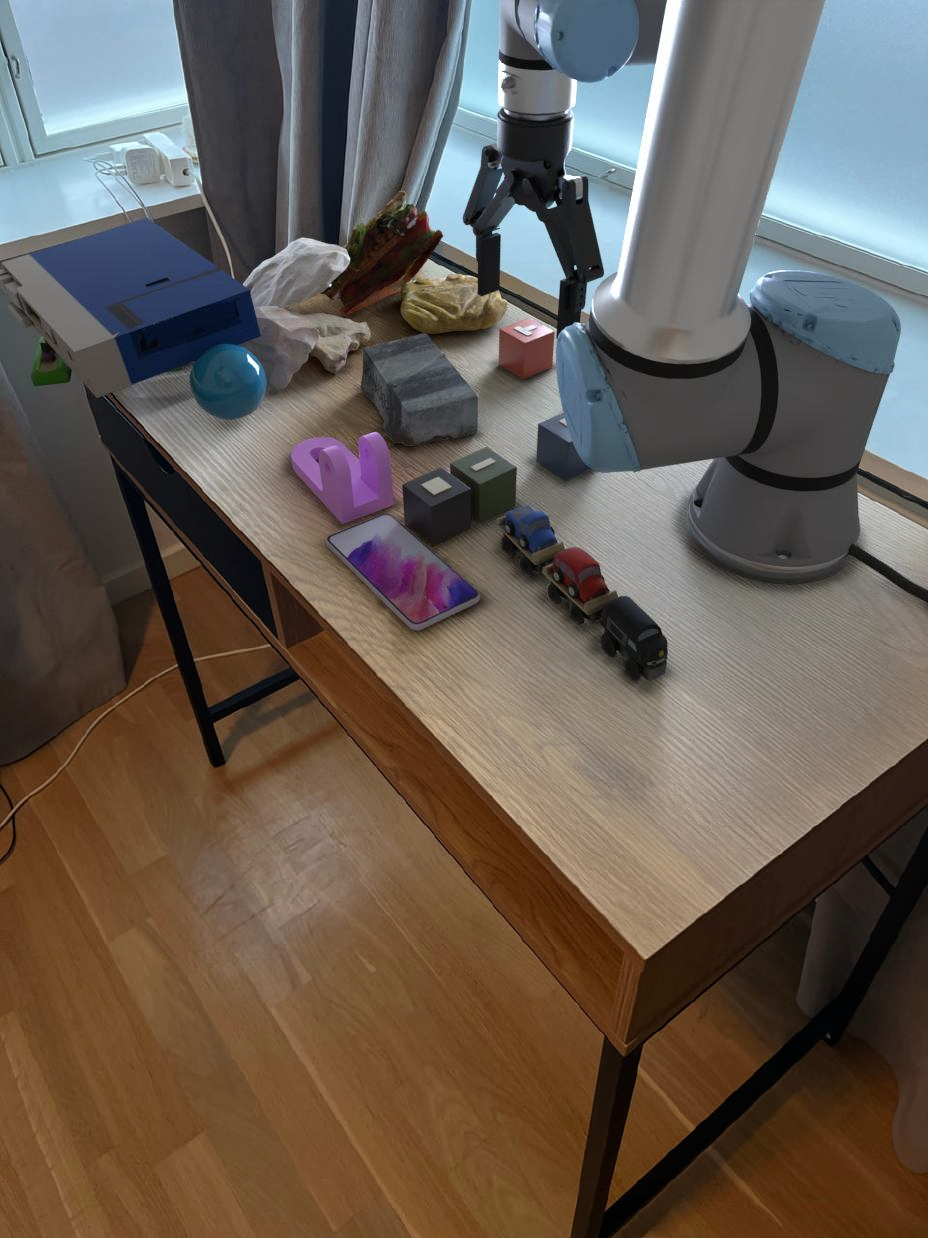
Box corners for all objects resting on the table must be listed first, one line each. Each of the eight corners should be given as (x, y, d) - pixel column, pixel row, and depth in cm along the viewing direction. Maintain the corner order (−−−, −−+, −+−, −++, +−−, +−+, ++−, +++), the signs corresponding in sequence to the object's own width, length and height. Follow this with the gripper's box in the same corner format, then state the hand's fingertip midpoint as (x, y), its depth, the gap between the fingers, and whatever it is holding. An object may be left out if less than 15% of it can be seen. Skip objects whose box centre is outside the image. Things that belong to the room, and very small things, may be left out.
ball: (222, 447, 104) (283, 411, 102) (172, 395, 98) (235, 356, 96) (222, 404, 109) (279, 369, 107) (174, 353, 104) (234, 314, 102)
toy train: (637, 694, 75) (645, 647, 71) (485, 541, 89) (486, 496, 85) (675, 675, 76) (685, 629, 73) (520, 528, 90) (521, 483, 87)
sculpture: (407, 316, 114) (387, 268, 125) (409, 344, 117) (388, 294, 128) (515, 305, 116) (485, 259, 127) (514, 332, 119) (485, 285, 130)
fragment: (275, 267, 130) (254, 234, 127) (391, 240, 118) (371, 203, 115) (219, 338, 123) (195, 305, 119) (336, 317, 111) (313, 280, 108)
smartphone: (388, 510, 91) (484, 594, 82) (388, 517, 92) (483, 602, 83) (321, 537, 88) (413, 628, 79) (322, 544, 88) (413, 635, 80)
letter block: (552, 367, 113) (554, 330, 110) (523, 379, 111) (524, 342, 108) (527, 352, 115) (528, 316, 112) (498, 364, 113) (499, 327, 110)
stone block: (399, 455, 100) (396, 411, 96) (354, 390, 109) (349, 348, 106) (478, 435, 102) (478, 391, 98) (427, 373, 112) (425, 331, 108)
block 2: (515, 506, 93) (517, 466, 90) (479, 523, 91) (479, 483, 88) (486, 484, 96) (486, 445, 92) (450, 501, 94) (449, 461, 90)
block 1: (471, 528, 90) (471, 487, 87) (432, 546, 88) (431, 506, 85) (442, 505, 93) (441, 465, 90) (404, 523, 91) (401, 483, 88)
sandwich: (465, 232, 123) (428, 178, 122) (419, 245, 113) (378, 186, 112) (383, 309, 133) (349, 259, 132) (335, 327, 123) (297, 274, 122)
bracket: (393, 504, 93) (389, 443, 88) (342, 524, 91) (335, 462, 86) (332, 443, 101) (325, 383, 96) (283, 459, 99) (273, 399, 94)
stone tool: (336, 341, 111) (243, 296, 117) (320, 316, 107) (225, 270, 112) (291, 402, 110) (199, 354, 115) (273, 379, 105) (179, 330, 111)
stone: (395, 348, 113) (318, 356, 108) (390, 375, 116) (315, 384, 110) (344, 296, 120) (269, 301, 115) (340, 322, 123) (267, 328, 118)
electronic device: (261, 336, 104) (156, 256, 123) (249, 289, 100) (143, 214, 119) (85, 402, 96) (3, 306, 115) (66, 354, 93) (-16, 263, 112)
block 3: (598, 465, 98) (602, 426, 95) (565, 481, 96) (568, 442, 93) (568, 446, 100) (571, 407, 97) (535, 461, 98) (537, 422, 95)
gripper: (428, 86, 100) (433, 283, 114) (597, 150, 85) (578, 367, 100) (485, 73, 103) (483, 266, 118) (656, 133, 89) (629, 344, 103)
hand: (526, 313), depth 109 cm, fingers open, 13 cm apart
